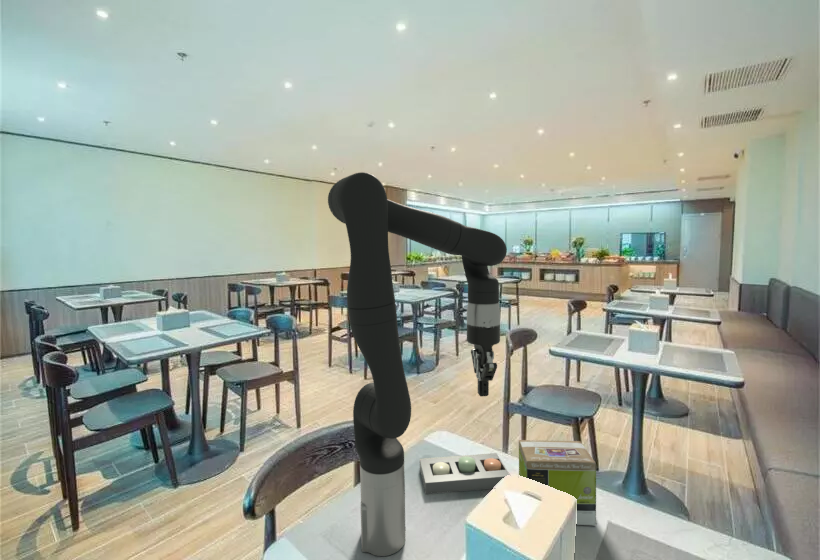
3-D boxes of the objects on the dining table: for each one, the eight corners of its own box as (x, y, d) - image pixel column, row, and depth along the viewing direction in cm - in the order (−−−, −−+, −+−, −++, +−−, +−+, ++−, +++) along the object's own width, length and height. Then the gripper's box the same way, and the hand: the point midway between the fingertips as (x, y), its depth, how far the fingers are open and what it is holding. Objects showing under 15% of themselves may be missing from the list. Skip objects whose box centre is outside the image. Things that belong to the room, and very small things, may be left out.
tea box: (580, 497, 93) (582, 439, 92) (596, 527, 83) (598, 463, 82) (517, 494, 95) (518, 437, 94) (525, 523, 85) (526, 460, 84)
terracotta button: (486, 477, 100) (487, 468, 100) (482, 467, 105) (482, 458, 105) (503, 476, 101) (503, 466, 101) (497, 466, 105) (497, 457, 105)
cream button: (434, 481, 99) (434, 472, 99) (431, 472, 103) (431, 462, 103) (451, 480, 99) (451, 471, 99) (447, 470, 104) (447, 461, 104)
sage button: (460, 475, 100) (460, 466, 99) (457, 466, 104) (456, 457, 104) (477, 474, 100) (477, 465, 100) (472, 465, 104) (472, 455, 104)
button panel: (425, 494, 95) (425, 482, 95) (419, 469, 106) (419, 458, 106) (510, 487, 98) (510, 475, 98) (496, 463, 109) (496, 453, 108)
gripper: (460, 317, 94) (460, 385, 95) (475, 328, 81) (475, 408, 82) (490, 316, 95) (489, 384, 96) (509, 327, 81) (508, 405, 83)
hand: (483, 395), depth 89 cm, fingers closed
